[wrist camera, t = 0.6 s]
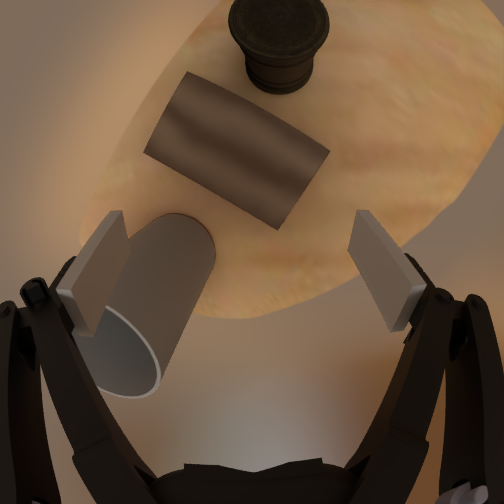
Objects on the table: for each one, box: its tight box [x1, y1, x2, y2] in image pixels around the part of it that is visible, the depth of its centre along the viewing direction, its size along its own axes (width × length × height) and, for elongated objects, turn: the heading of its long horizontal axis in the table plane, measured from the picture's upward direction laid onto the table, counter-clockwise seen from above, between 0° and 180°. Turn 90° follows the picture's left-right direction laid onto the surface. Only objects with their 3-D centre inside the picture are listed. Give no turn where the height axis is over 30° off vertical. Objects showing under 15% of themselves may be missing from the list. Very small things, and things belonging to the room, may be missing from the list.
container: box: [228, 0, 329, 94], centre depth 25 cm, size 9×9×18 cm
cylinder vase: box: [72, 214, 215, 399], centre depth 34 cm, size 12×12×25 cm
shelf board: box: [143, 71, 330, 231], centre depth 37 cm, size 13×22×3 cm, turn 59°
